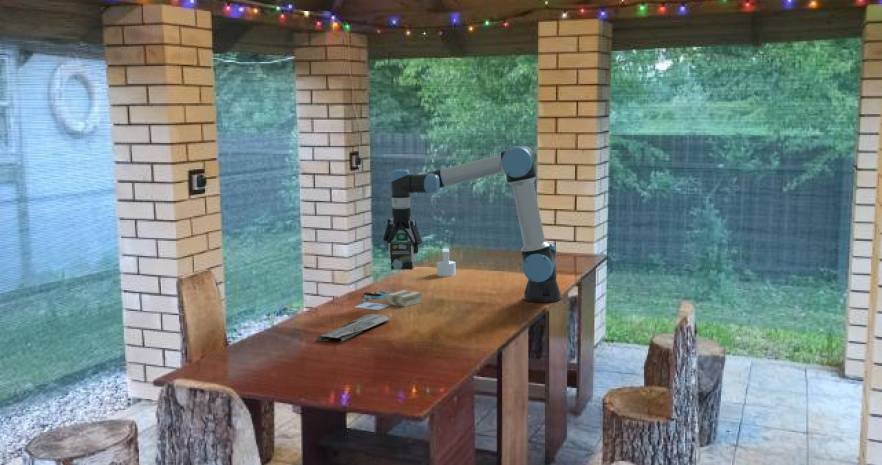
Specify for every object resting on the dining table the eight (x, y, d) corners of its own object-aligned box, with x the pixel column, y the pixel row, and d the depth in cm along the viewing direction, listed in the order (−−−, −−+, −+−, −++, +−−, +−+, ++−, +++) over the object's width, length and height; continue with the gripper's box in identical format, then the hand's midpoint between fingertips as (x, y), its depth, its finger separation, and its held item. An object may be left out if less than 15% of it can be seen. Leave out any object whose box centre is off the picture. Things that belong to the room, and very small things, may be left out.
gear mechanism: (351, 301, 359) (370, 303, 355) (351, 289, 359) (369, 291, 354) (377, 292, 377) (395, 294, 372) (377, 280, 376) (395, 281, 371)
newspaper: (364, 319, 328) (364, 310, 328) (393, 321, 323) (392, 312, 323) (315, 343, 296) (314, 333, 296) (345, 346, 291) (345, 336, 291)
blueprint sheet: (390, 305, 348) (390, 304, 348) (378, 310, 340) (378, 309, 340) (366, 302, 354) (366, 302, 354) (353, 307, 346) (353, 306, 346)
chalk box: (415, 265, 354) (414, 230, 351) (412, 269, 345) (411, 233, 342) (393, 265, 355) (392, 230, 352) (390, 270, 346) (389, 234, 343)
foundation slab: (421, 302, 352) (421, 292, 352) (405, 306, 345) (404, 297, 344) (403, 299, 359) (403, 290, 358) (387, 303, 351) (387, 294, 351)
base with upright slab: (455, 276, 405) (455, 251, 403) (436, 276, 405) (436, 252, 403) (455, 272, 414) (455, 248, 412) (437, 273, 414) (436, 248, 412)
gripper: (373, 206, 351) (375, 258, 354) (417, 210, 335) (418, 263, 338) (386, 205, 357) (387, 255, 360) (429, 208, 341) (431, 261, 344)
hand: (402, 259), depth 349 cm, fingers closed on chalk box, 12 cm apart
